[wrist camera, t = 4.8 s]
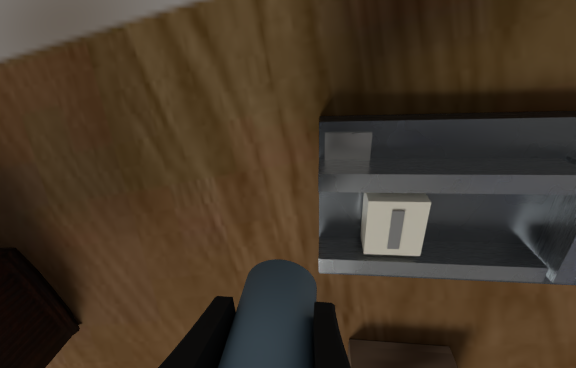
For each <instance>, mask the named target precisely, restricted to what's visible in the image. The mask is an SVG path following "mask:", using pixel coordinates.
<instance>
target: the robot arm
mask: <svg viewBox="0 0 576 368" xmlns="http://www.w3.org/2000/svg"><path fill="white" fill-rule="evenodd" d="M235 314H236V312H235V307H234V302H233V297H223V296H217V297H215V298H214V300H213V301H212V302H211V304H210V305H209V306H208V308H207V309H206V310H205V312H204V313H203V314H202V315H201V317H200V318H199V319H198V321H197V322H196V323H195V324H194V326H193V327H192V328H191V330H190V331H189V332H188V333H187V334H186V336H185V337H184V338H183V339H182V341H181V342H180V343H179V344H178V345H177V347H176V348H175V349H174V350H173V351H172V353H171V354H170V355H169V356H168V357H167V358H166V359H165V361H164V362H163V363H162V364H161V365H160V366H159V367H158V368H218V366H219V363H220V360H221V357H222V354H223V351H224V348H225V345H226V341H227V338H228V335H229V332H230V329H231V326H232V323H233V320H234V317H235ZM313 338H314V368H351V366H350V363H349V360H348V357H347V354H346V351H345V348H344V345H343V342H342V338H341V335H340V331H339V327H338V323H337V318H336V313H335V305H334V304H332V303H326V302H314V318H313Z"/></svg>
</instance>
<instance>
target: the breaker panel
mask: <svg viewBox="0 0 576 368" xmlns="http://www.w3.org/2000/svg"><path fill="white" fill-rule="evenodd" d="M364 193H426V195H427V196H428V198H429V199H430V201H431V206H430V211H429V216H428V221H427V226H426V231H425V235H424V240H423V245H422V250H421V255H420V256H405V255H379V254H364V253H363V247H362V242H361V236H360V233H361V221H362V209H363V196H364ZM319 273H326V274H347V275H369V276H390V277H411V278H433V279H454V280H476V281H497V282H518V283H540V284H561V285H576V111H547V112H500V113H453V114H406V115H359V116H320V118H319Z"/></svg>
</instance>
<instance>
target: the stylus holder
mask: <svg viewBox="0 0 576 368" xmlns="http://www.w3.org/2000/svg"><path fill="white" fill-rule="evenodd" d="M348 360H349V363H350V366H351V368H458V367H457V365H456V362H455V360H454V357H453V355H452V352H451V350H450V347H448V346H434V345H421V344H407V343H394V342H380V341H367V340H354V339H349V347H348Z"/></svg>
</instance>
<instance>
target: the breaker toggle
mask: <svg viewBox="0 0 576 368" xmlns="http://www.w3.org/2000/svg"><path fill="white" fill-rule="evenodd" d="M430 206H431V201H430V199H429V198H428V196H427V195H426V193H364V196H363V209H362V221H361V233H360V236H361V242H362V247H363V253H364V254H379V255H405V256H420V255H421V250H422V245H423V240H424V235H425V231H426V226H427V221H428V216H429V211H430Z"/></svg>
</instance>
